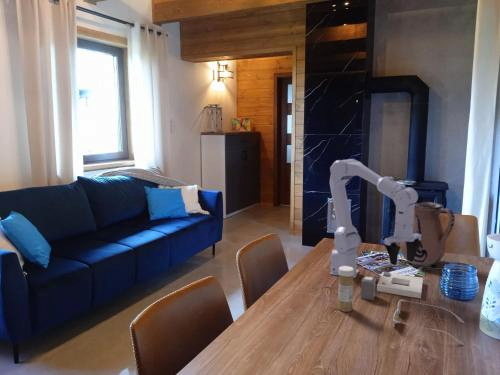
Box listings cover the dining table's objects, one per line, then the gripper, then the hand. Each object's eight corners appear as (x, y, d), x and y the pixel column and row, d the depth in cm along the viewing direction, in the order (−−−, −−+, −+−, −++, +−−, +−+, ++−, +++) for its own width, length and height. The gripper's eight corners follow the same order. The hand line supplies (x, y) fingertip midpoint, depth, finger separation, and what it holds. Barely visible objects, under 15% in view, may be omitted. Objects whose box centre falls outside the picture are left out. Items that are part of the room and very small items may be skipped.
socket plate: (376, 291, 136) (377, 283, 135) (382, 276, 148) (382, 270, 148) (420, 298, 130) (421, 291, 129) (422, 283, 142) (423, 276, 142)
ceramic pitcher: (409, 253, 175) (413, 198, 171) (460, 265, 160) (465, 205, 156) (390, 262, 164) (393, 203, 160) (442, 276, 148) (447, 211, 144)
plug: (360, 298, 130) (361, 279, 129) (362, 293, 134) (363, 275, 133) (373, 300, 129) (374, 281, 128) (375, 295, 132) (375, 277, 131)
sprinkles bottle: (346, 304, 126) (347, 264, 124) (355, 310, 122) (357, 269, 120) (334, 307, 124) (335, 266, 122) (343, 313, 120) (345, 271, 118)
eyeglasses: (399, 309, 124) (400, 297, 123) (464, 322, 115) (465, 309, 114) (391, 331, 110) (392, 318, 110) (464, 348, 102) (465, 334, 101)
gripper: (396, 229, 126) (394, 269, 128) (429, 224, 132) (426, 263, 134) (380, 224, 132) (378, 262, 134) (413, 219, 138) (410, 256, 140)
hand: (401, 262), depth 135 cm, fingers open, 7 cm apart
